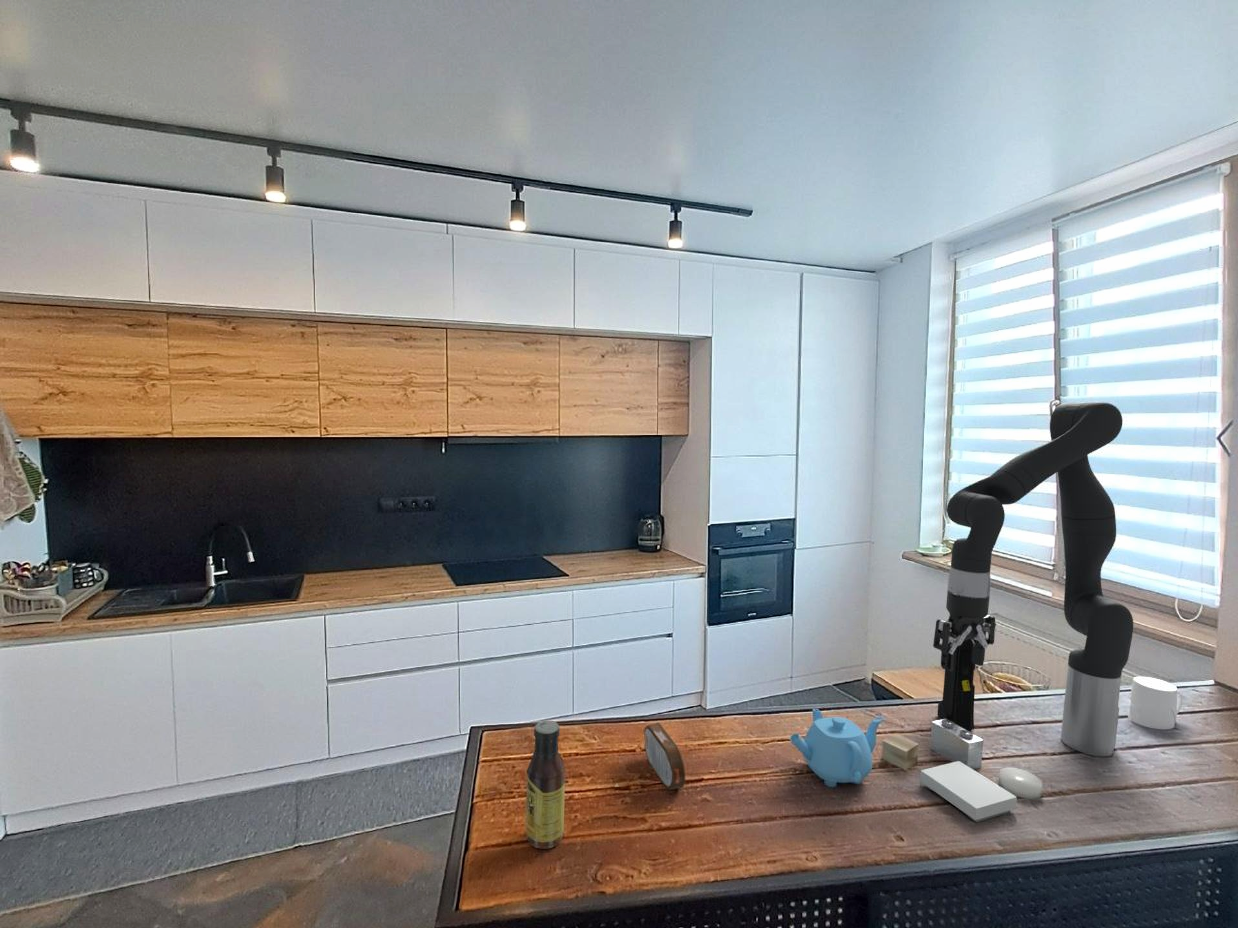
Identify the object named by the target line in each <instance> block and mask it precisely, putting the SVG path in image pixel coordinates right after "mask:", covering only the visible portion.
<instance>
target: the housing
mask: <svg viewBox="0 0 1238 928" xmlns="http://www.w3.org/2000/svg"><path fill="white" fill-rule="evenodd" d="M929 748H930V749H931V750H932V751H934V752H936V753H938V754H939V755H941V756H942V757H943V758H945V759H947V760H948V761H950V763H953V762H957V761H960V762H962V763H963V764H965V765H966V766H968V767H970V768H971V769H973V770H978V769H981V768H982V760H983V751H984V750H983V749H984V739H982V738H981V737H979V736H977V735H975V734H973V732H972V731H967V730H965V729H963V728H961V727H960V726H958V725H956V724H955V723H954V722H952V721H949V720H947V719H942V720H940V719H938V720H934V721H931V732H930V745H929Z"/></svg>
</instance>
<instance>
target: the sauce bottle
mask: <svg viewBox="0 0 1238 928" xmlns="http://www.w3.org/2000/svg"><path fill="white" fill-rule="evenodd" d="M533 729H534V730H533V736H534V742H535V743H534V750H533V751H534V752H533V754H532V756H531V759H530V762H529V765H528V767H527V770H526V791H525V792H526V796H525V797H526V803H525V804H526V805H525V808H526V809H525V810H526V811H525V832H526V839H527V841H528V843H529V844H530V846H531V847H533V848H536V849H540V850H548V849H551V848H554V847H556V846H558V845H559V844H560V842H561V841H562V838H563V836H564V828H565V797H566V796H565V795H566V794H565V793H566V791H565V790H566V777H565V770H566V768H565V761H564V759H563V757H562V755H561V754H560V753H559V736H560V725H559V723H558V722H556V721H553V720H550V719H549V720H547V719H546V720H545V719H544V720H541V721H539V722H538V723H536V724H535V725H534V728H533Z"/></svg>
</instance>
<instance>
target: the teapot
mask: <svg viewBox="0 0 1238 928" xmlns="http://www.w3.org/2000/svg"><path fill="white" fill-rule="evenodd" d="M821 711H822V710H821ZM821 711H820V710H819V708H812V723H811V725H810V727H809V728H808V730H807V732H806V734H805V736H804V739H803V738H802V737H801V735H799V734H798V733H793V734H791V736H790V738H789V742H791V744H792V745H793V746H794V747H795V748H796V749H797V750H798V751H799V752H800V753H801V754H802V756H803V759H804V760H805V762H806V765H808V767H809V768H810V769H811V771H813V773H814V774H815V775H817V776H818V778H820V779H822V780H824V782H823V784H824V785H825V786H827V787H829V788H835V787H837V783H852V784H855V785H861V784H863V781H862V780H863V779H866V777H867V776H869V775H870V773H871V772H872V769H873V756H872V755H873V754H872V753H873V752H874V750H875V748H876V743H877V731H878V727H879V725H880V724H881V723H882V722H883V721H884V719H885V718H884V717H882V716H879V717H876V718H874V719H873V720H872V721H871V722H870V723H869V725H868V727H867V730H866V732H864V731H863V730H862V729H861V728H860V727H859V726H858V725H857V724H856V723H854V722H853V721H852V720H850V719H848V718H845V717H840V716H833V717H831V716H830V717H824V716H823V715H822V713H821Z"/></svg>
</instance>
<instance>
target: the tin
mask: <svg viewBox="0 0 1238 928" xmlns="http://www.w3.org/2000/svg"><path fill="white" fill-rule="evenodd" d="M643 731H644V733H643V734H644V749H645V750H644V751H645V753H646V757H647V760H648V762H649V764H650V767H652V769H653V771H654V772H655V774H656V775H657V776H658V778H659V780H660V781H661V783H662V784H663V786H664V787H665V788H666V789H667V790H668V791H672V790H675V789H682V788H684V786H685V785H686V783H685V782H686V771H685V764H684V759H683V756H682V754H681V751H680V748H679V747H678V744H677V743H676V742H675V741H674V739H673V738H672V737H671V736H670V735H669V733H668V732H667V730H666V729H665V728H664V727H663V725H662V724H661V723H660V722H655V723H652V724H648V725H646V726H645V727H644V729H643Z"/></svg>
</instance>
